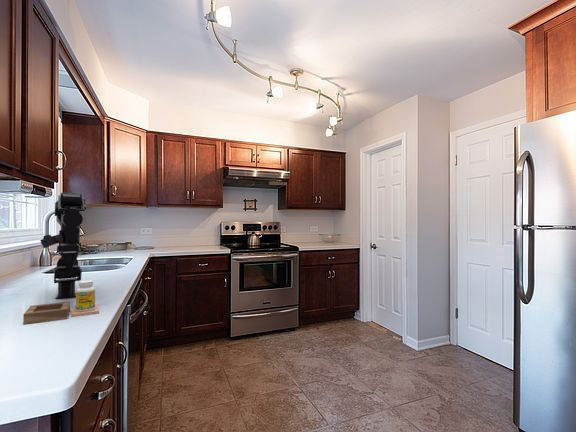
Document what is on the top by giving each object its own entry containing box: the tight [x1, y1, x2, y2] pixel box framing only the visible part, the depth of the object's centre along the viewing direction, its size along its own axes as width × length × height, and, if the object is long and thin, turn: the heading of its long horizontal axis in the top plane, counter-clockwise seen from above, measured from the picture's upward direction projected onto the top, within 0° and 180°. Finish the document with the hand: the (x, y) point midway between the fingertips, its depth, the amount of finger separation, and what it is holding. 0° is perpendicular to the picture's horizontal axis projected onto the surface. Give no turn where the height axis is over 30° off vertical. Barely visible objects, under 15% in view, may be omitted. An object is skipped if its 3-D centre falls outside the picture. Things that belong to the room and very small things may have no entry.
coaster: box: [70, 305, 100, 318], centre depth 104 cm, size 8×8×1 cm
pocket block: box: [22, 301, 71, 326], centre depth 98 cm, size 11×11×3 cm
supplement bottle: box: [75, 279, 96, 312], centre depth 104 cm, size 5×5×10 cm
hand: (69, 269), depth 112 cm, fingers open, 9 cm apart
